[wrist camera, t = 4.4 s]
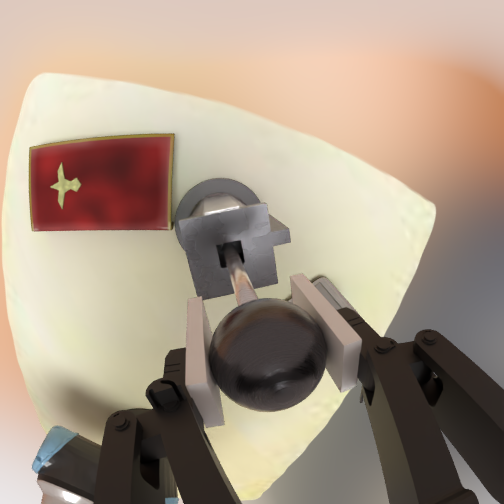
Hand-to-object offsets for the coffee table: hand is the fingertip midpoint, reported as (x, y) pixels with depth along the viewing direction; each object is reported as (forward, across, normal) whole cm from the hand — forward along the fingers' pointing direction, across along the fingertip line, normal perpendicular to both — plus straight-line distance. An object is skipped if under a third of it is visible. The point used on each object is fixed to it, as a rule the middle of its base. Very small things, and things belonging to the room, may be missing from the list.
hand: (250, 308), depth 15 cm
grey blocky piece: (+22, 0, 0) cm, 22 cm away
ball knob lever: (+13, 0, 0) cm, 13 cm away
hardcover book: (+24, -15, +9) cm, 30 cm away
